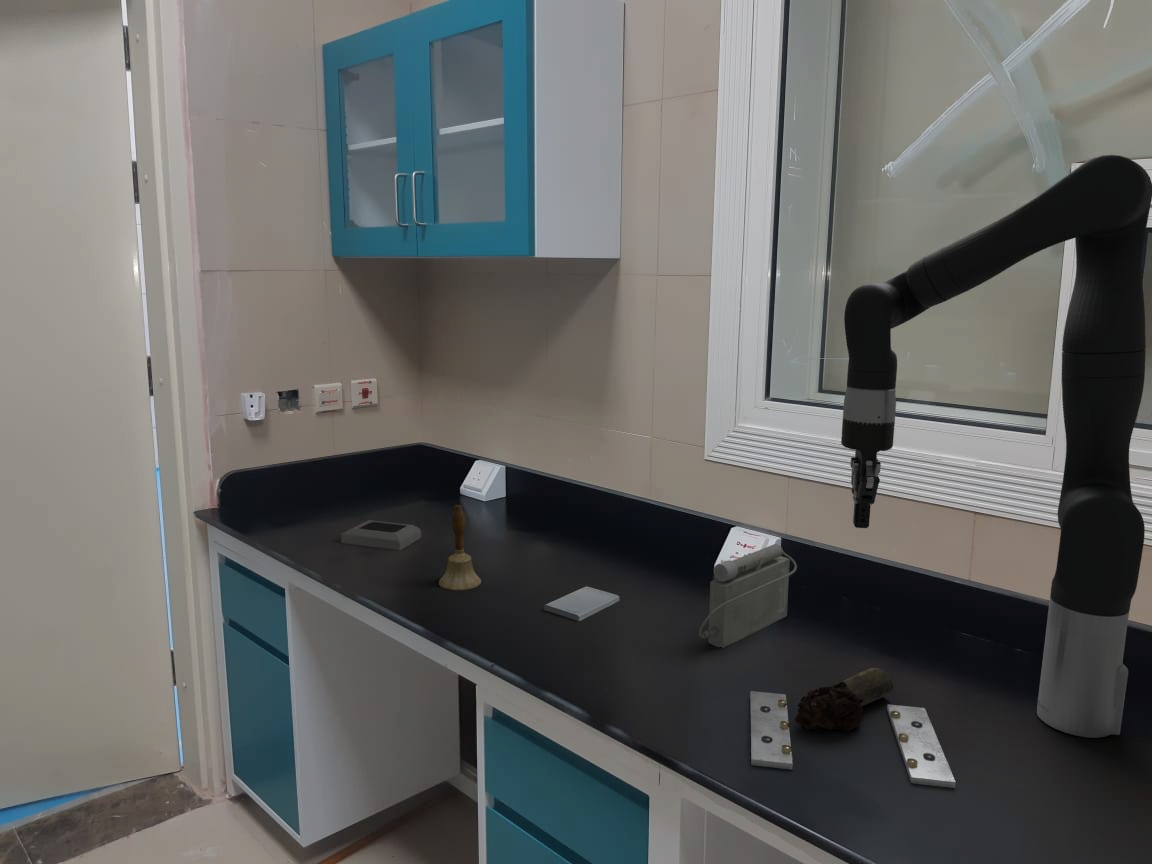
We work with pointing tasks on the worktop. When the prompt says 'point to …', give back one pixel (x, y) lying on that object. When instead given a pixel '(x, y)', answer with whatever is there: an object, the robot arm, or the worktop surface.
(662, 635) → the worktop surface
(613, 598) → the hard drive
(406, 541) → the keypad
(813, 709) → the cylinder with dark lump
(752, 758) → the hinge leaves
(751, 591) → the geiger counter
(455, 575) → the hand bell
